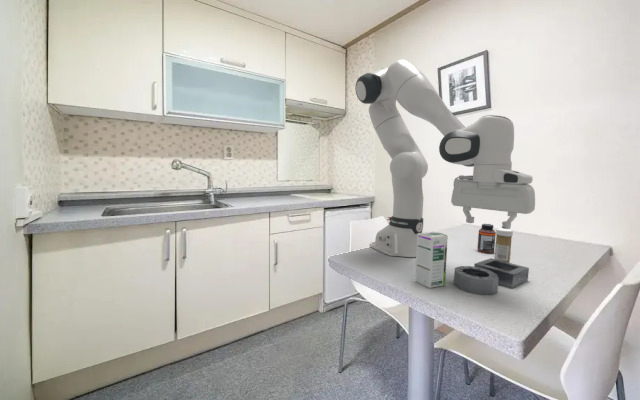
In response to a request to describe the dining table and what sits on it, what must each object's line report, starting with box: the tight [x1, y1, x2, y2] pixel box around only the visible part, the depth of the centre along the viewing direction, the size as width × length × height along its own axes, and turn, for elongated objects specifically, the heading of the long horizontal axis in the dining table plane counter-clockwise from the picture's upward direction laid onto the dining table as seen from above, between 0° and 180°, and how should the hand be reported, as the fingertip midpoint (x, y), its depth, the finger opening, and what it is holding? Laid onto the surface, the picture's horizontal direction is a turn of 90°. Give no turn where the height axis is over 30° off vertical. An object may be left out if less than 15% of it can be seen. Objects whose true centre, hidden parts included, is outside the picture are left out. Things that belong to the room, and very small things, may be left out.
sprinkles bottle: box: [493, 227, 514, 263], centre depth 91 cm, size 5×5×14 cm
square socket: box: [473, 258, 530, 289], centre depth 83 cm, size 10×10×4 cm
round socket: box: [453, 265, 499, 296], centre depth 76 cm, size 10×10×4 cm
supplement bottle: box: [476, 223, 496, 254], centre depth 111 cm, size 6×6×11 cm
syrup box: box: [415, 231, 449, 289], centre depth 78 cm, size 6×6×14 cm
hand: (487, 225), depth 77 cm, fingers open, 8 cm apart
